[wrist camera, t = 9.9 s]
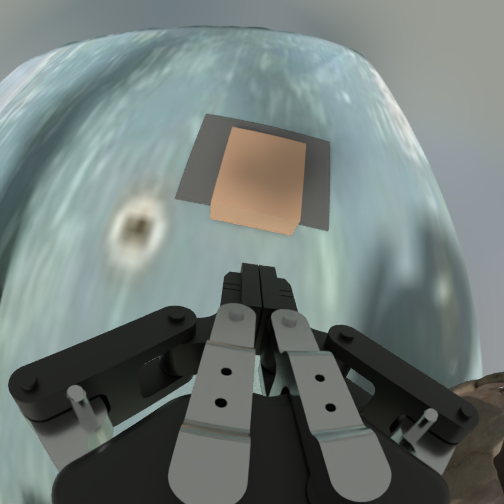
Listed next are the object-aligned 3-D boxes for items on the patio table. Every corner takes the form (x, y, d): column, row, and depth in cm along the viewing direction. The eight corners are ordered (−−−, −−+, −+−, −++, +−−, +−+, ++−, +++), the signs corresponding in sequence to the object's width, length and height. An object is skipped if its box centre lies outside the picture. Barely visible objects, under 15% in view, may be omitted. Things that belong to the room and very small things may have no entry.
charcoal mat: (175, 198, 35) (175, 197, 35) (206, 115, 41) (206, 113, 41) (327, 231, 37) (328, 230, 37) (329, 143, 43) (329, 142, 43)
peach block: (210, 202, 31) (232, 126, 35) (210, 219, 35) (229, 146, 39) (300, 221, 32) (306, 143, 36) (290, 236, 36) (297, 161, 40)
